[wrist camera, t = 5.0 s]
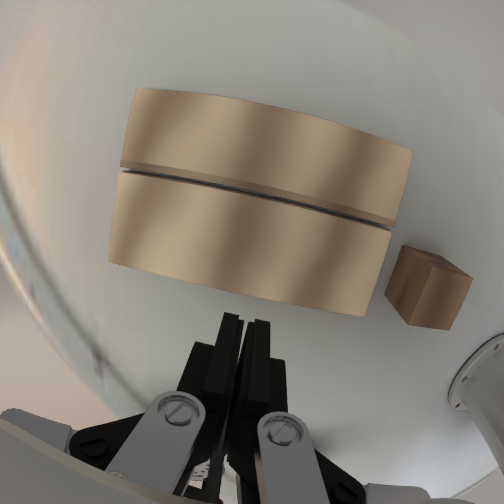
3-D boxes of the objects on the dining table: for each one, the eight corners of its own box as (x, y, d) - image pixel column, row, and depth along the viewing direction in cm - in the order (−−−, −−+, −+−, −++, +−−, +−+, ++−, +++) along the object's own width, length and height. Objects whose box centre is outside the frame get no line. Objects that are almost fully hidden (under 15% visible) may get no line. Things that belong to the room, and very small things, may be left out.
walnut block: (441, 256, 21) (472, 278, 17) (422, 301, 23) (449, 330, 18) (402, 244, 21) (432, 267, 16) (384, 294, 23) (407, 324, 18)
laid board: (403, 151, 19) (413, 151, 17) (385, 222, 21) (393, 227, 19) (144, 92, 18) (135, 88, 17) (129, 165, 20) (119, 166, 18)
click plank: (383, 227, 21) (392, 230, 19) (357, 308, 22) (364, 317, 21) (128, 170, 20) (119, 170, 18) (117, 256, 22) (108, 261, 20)
